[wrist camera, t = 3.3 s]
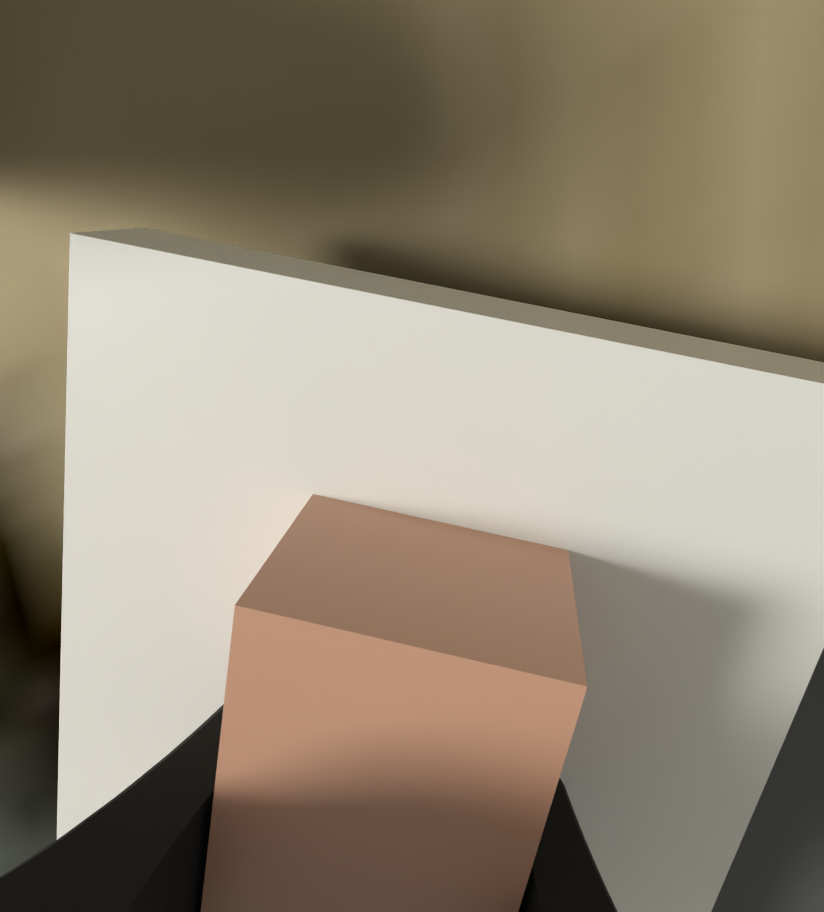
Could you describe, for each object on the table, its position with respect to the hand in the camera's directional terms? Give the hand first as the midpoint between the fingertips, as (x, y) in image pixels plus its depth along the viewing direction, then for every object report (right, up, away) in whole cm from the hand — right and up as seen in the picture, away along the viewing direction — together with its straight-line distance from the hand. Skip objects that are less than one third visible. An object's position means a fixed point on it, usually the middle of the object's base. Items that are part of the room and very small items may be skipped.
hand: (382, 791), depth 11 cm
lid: (0, +1, +2) cm, 3 cm away
